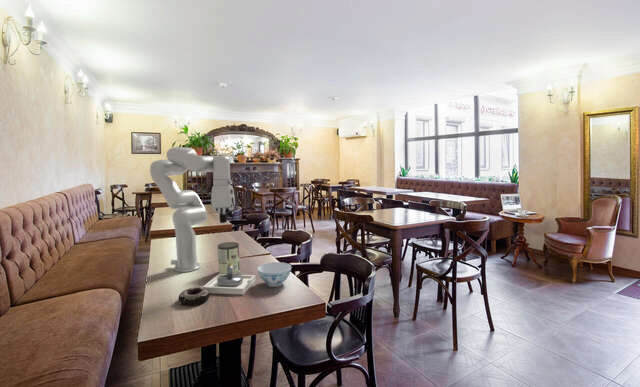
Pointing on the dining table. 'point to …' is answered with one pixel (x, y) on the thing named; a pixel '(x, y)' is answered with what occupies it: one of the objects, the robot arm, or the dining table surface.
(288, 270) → the chinaware
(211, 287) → the white square tray
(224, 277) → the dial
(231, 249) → the coffee can
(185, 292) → the donut
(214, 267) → the dining table surface
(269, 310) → the dining table surface
